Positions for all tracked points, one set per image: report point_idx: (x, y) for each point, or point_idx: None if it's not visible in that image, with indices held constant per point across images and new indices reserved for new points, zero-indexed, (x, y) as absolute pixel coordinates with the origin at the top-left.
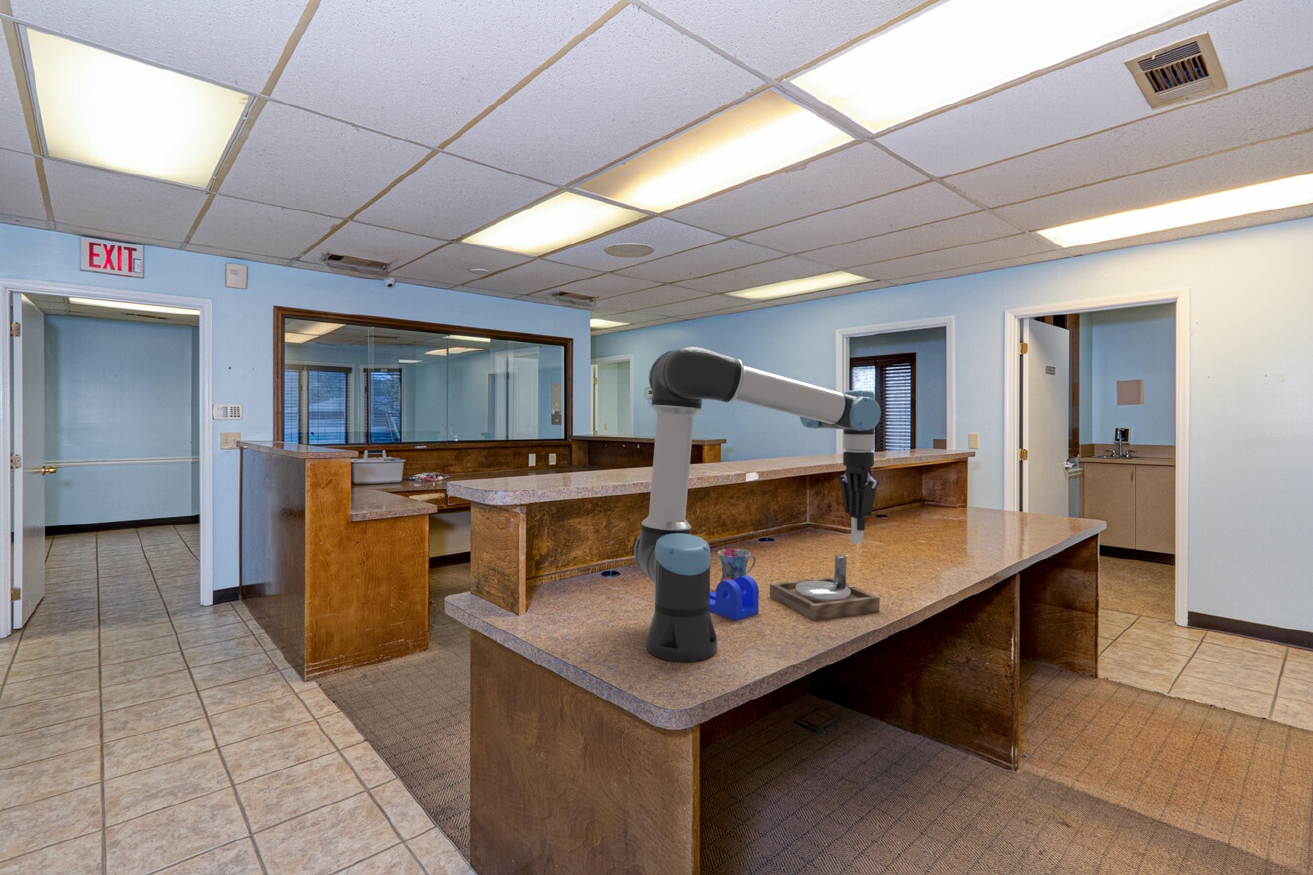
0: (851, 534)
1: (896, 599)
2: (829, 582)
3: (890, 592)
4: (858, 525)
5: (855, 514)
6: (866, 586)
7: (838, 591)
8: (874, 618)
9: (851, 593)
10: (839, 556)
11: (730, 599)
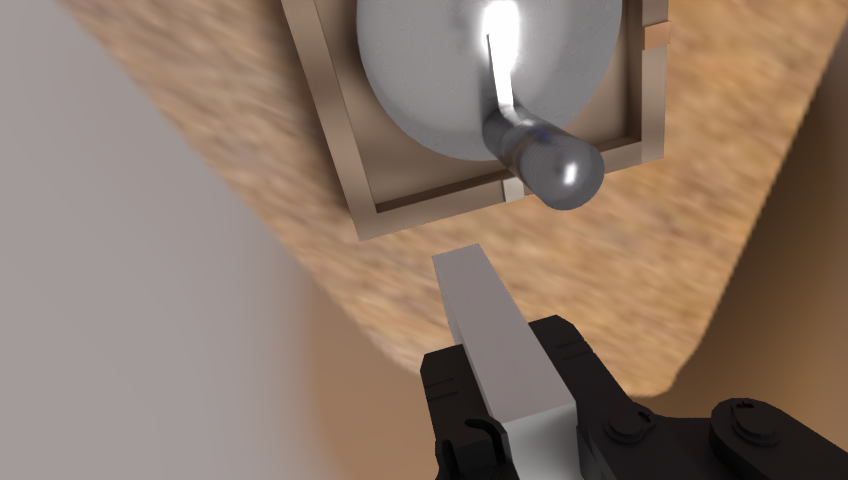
0: (492, 278)
1: None
2: (571, 106)
3: None
4: (453, 386)
5: (592, 476)
6: (620, 283)
7: (431, 87)
8: (276, 167)
9: (488, 173)
10: (574, 170)
11: None
